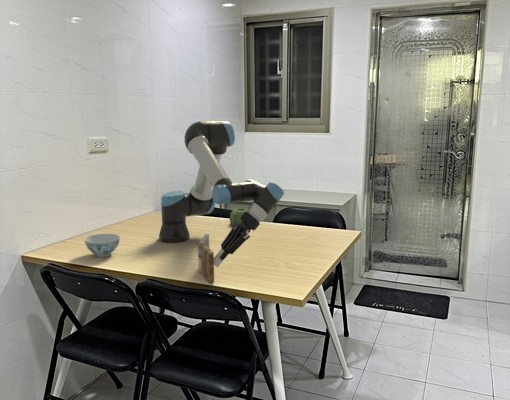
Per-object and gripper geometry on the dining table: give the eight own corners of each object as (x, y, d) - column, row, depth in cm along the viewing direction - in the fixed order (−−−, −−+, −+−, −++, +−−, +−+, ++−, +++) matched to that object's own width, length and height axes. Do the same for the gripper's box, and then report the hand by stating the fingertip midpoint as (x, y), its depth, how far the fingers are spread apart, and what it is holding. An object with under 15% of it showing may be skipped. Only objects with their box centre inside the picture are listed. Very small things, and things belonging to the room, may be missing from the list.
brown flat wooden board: (197, 270, 188) (197, 242, 186) (205, 269, 189) (204, 241, 187) (208, 283, 174) (207, 253, 172) (215, 282, 175) (215, 252, 173)
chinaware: (84, 252, 213) (83, 235, 212) (118, 248, 219) (117, 232, 218) (86, 261, 200) (85, 244, 198) (123, 257, 206) (122, 240, 204)
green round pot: (236, 220, 273) (236, 206, 272) (256, 223, 268) (256, 208, 266) (222, 226, 259) (222, 211, 258) (243, 229, 253) (243, 213, 252)
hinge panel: (203, 260, 201) (203, 233, 198) (210, 261, 201) (210, 233, 198) (198, 273, 186) (197, 244, 183) (205, 273, 186) (204, 244, 183)
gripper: (267, 226, 176) (226, 275, 173) (252, 219, 189) (215, 265, 186) (253, 214, 173) (212, 264, 170) (240, 207, 186) (201, 254, 183)
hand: (213, 264), depth 178 cm, fingers closed
